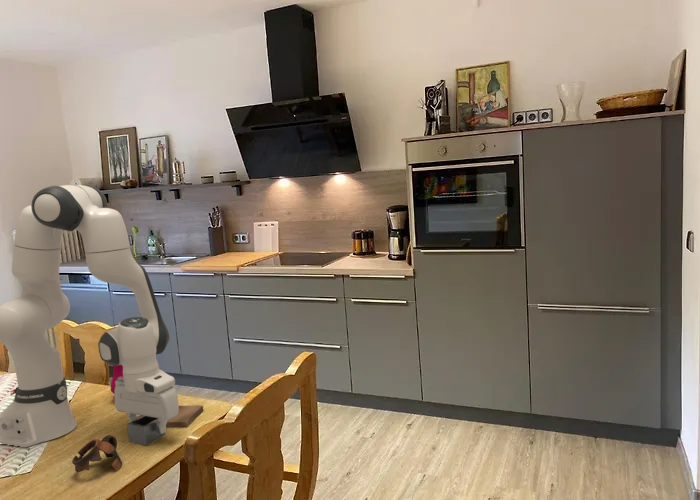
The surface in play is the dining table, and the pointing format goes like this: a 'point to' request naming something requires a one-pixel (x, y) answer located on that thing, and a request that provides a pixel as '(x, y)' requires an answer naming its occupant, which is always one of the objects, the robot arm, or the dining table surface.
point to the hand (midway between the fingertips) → (149, 429)
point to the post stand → (184, 416)
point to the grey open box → (144, 430)
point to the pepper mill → (116, 376)
